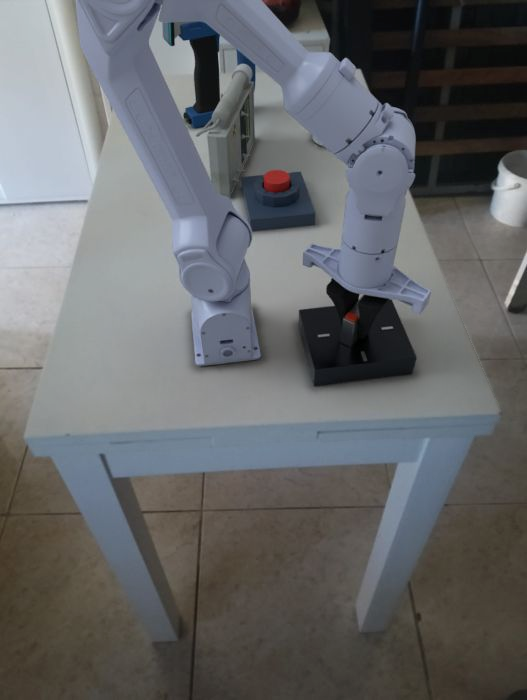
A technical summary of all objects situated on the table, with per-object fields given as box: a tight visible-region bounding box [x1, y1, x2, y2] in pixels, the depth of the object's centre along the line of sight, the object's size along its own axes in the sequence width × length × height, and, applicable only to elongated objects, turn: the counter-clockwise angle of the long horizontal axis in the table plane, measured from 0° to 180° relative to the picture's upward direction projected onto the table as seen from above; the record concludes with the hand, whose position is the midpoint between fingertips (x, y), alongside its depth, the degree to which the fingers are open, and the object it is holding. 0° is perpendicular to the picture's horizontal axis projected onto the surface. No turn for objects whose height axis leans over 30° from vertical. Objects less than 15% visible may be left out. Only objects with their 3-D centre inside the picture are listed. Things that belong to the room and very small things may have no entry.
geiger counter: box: [195, 64, 256, 199], centre depth 96 cm, size 14×6×25 cm
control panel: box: [297, 299, 417, 387], centre depth 70 cm, size 12×10×3 cm
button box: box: [240, 171, 316, 232], centre depth 90 cm, size 12×10×4 cm
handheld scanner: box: [161, 21, 256, 129], centre depth 105 cm, size 5×16×20 cm, turn 115°
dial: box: [340, 294, 364, 347], centre depth 67 cm, size 5×2×4 cm, turn 145°
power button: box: [263, 169, 290, 193], centre depth 88 cm, size 4×4×2 cm
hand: (356, 329), depth 68 cm, fingers closed on dial
